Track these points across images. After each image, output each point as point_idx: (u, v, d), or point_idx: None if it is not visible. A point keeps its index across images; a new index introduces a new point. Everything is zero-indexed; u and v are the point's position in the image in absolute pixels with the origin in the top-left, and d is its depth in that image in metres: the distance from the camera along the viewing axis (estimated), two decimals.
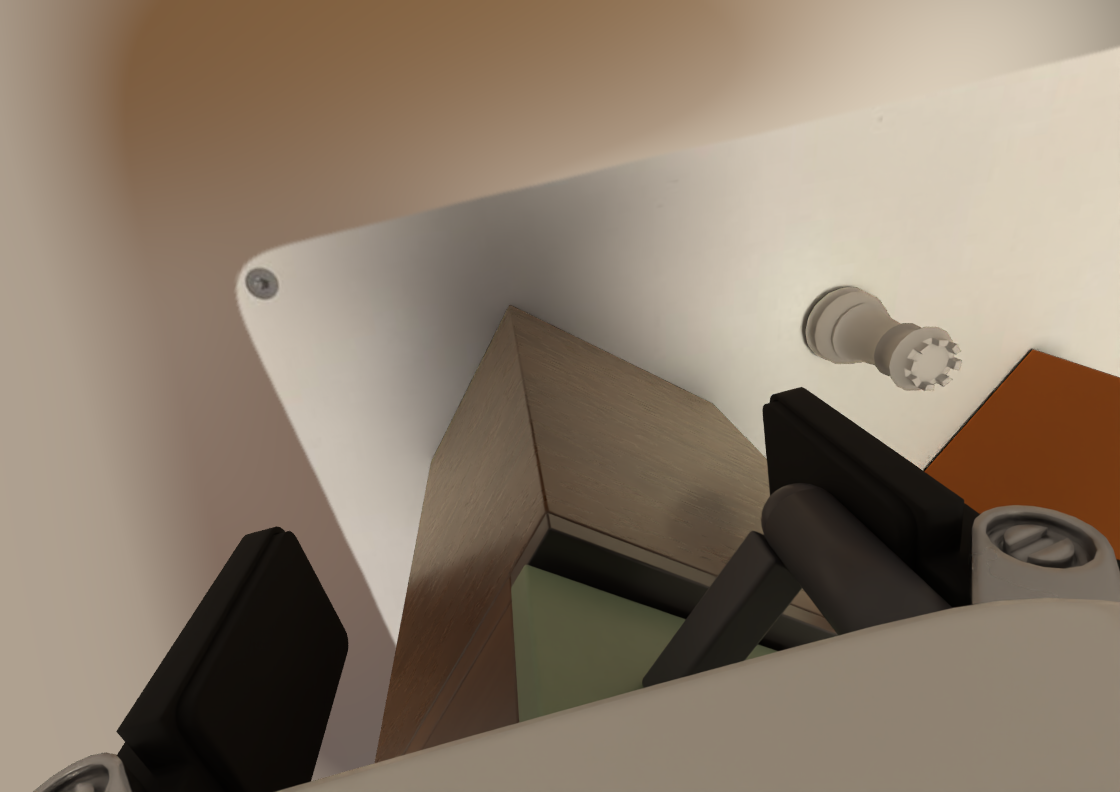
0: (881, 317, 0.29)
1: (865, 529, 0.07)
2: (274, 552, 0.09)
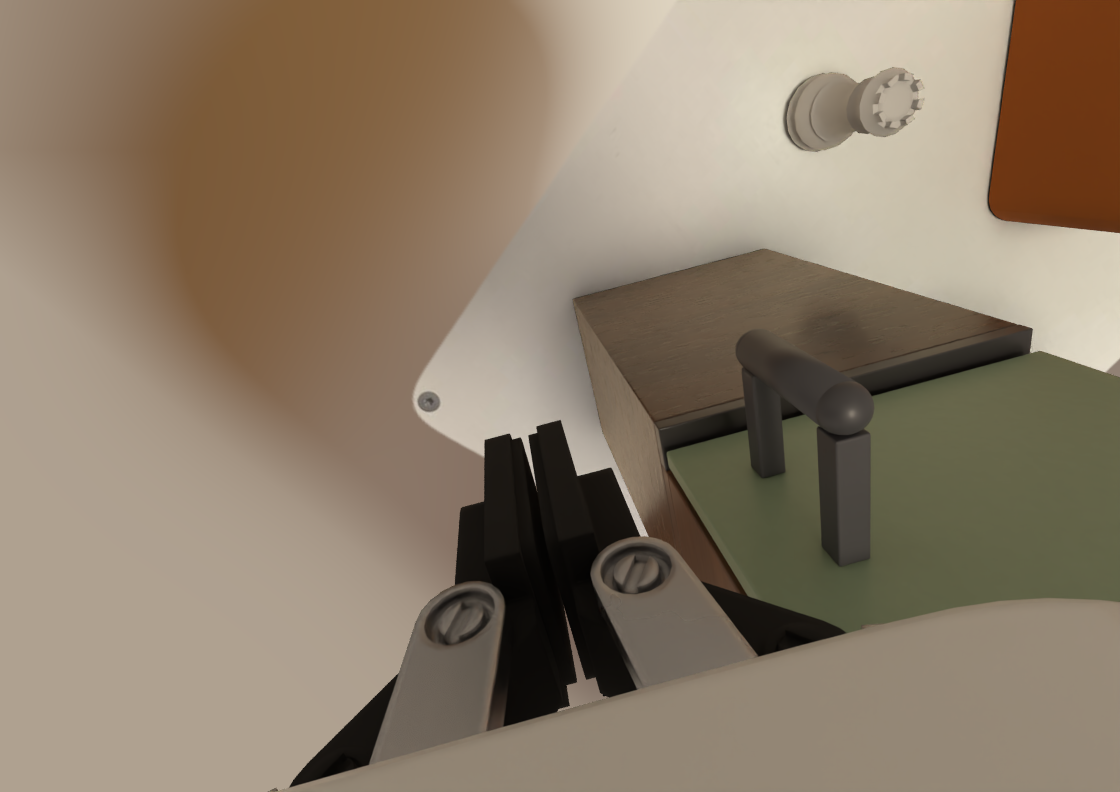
0: (840, 91, 0.32)
1: (771, 340, 0.14)
2: (519, 451, 0.11)
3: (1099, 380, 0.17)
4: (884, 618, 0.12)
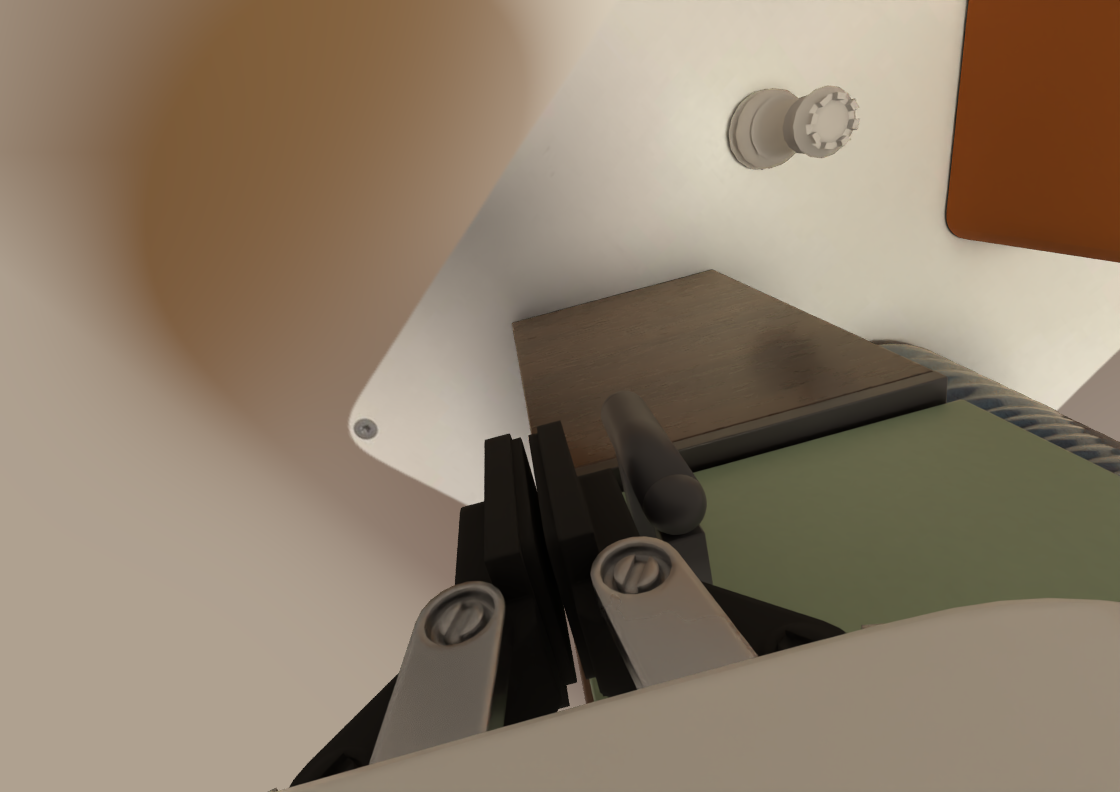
0: (778, 109, 0.30)
1: (627, 409, 0.13)
2: (519, 451, 0.11)
3: (1015, 438, 0.16)
4: None
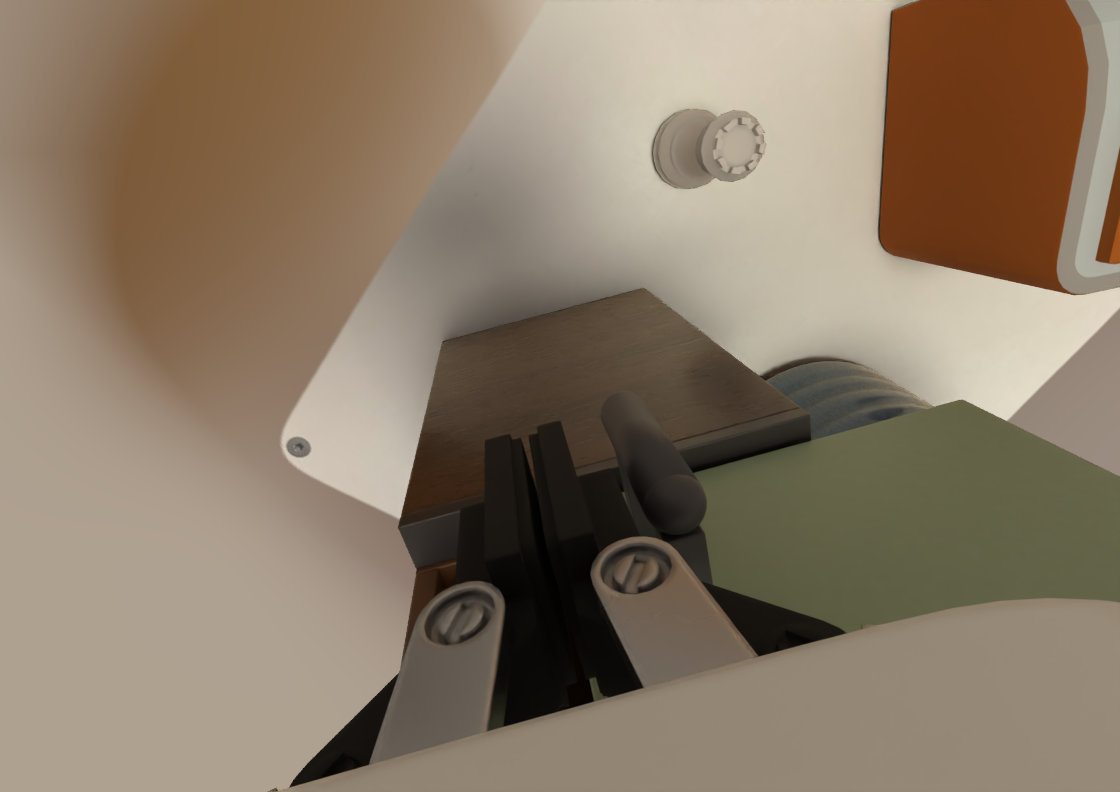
0: (694, 131, 0.30)
1: (627, 409, 0.13)
2: (519, 451, 0.11)
3: (1015, 439, 0.16)
4: None
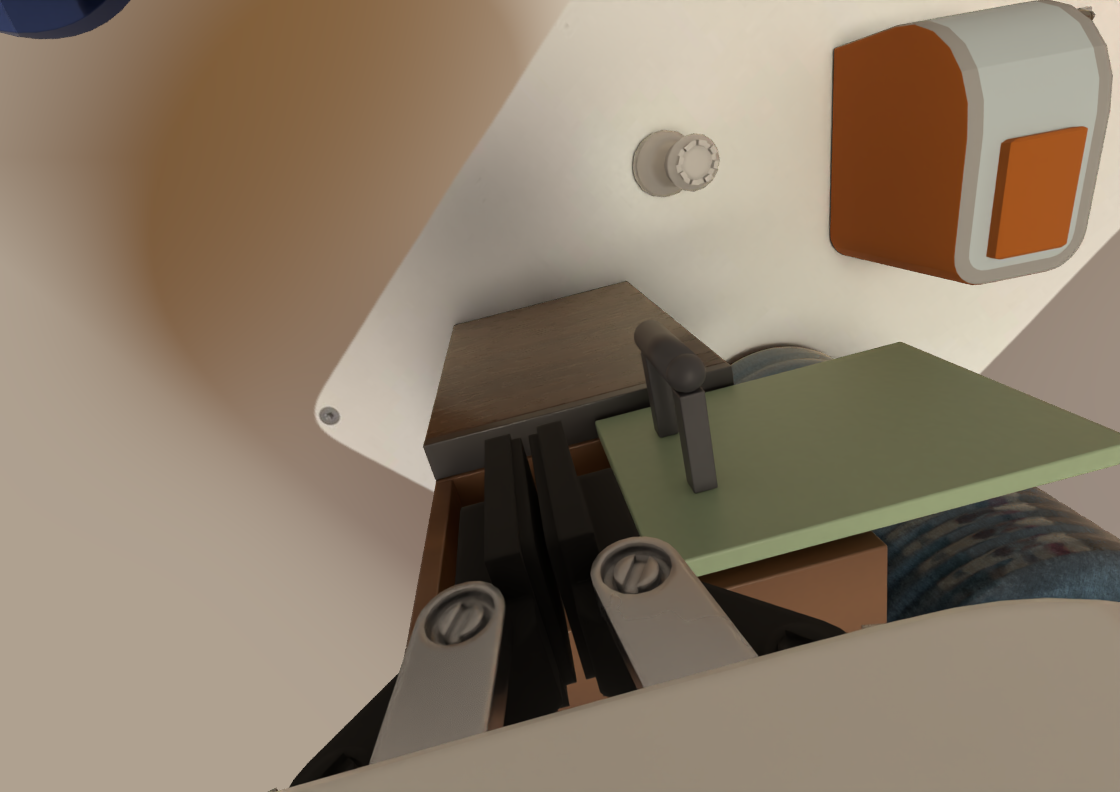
0: (664, 149, 0.36)
1: (653, 327, 0.19)
2: (519, 451, 0.11)
3: (931, 363, 0.22)
4: (713, 523, 0.16)
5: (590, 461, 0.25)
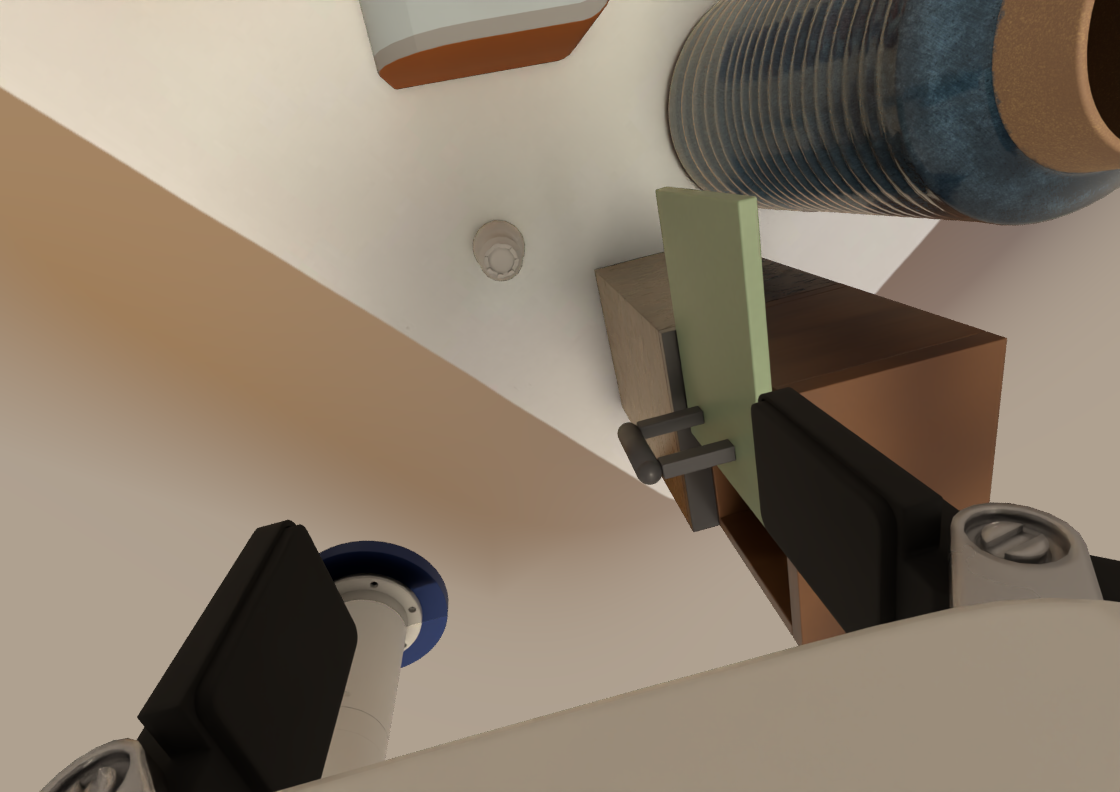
0: None
1: (622, 445, 0.29)
2: (286, 545, 0.10)
3: (673, 205, 0.25)
4: (751, 478, 0.24)
5: None
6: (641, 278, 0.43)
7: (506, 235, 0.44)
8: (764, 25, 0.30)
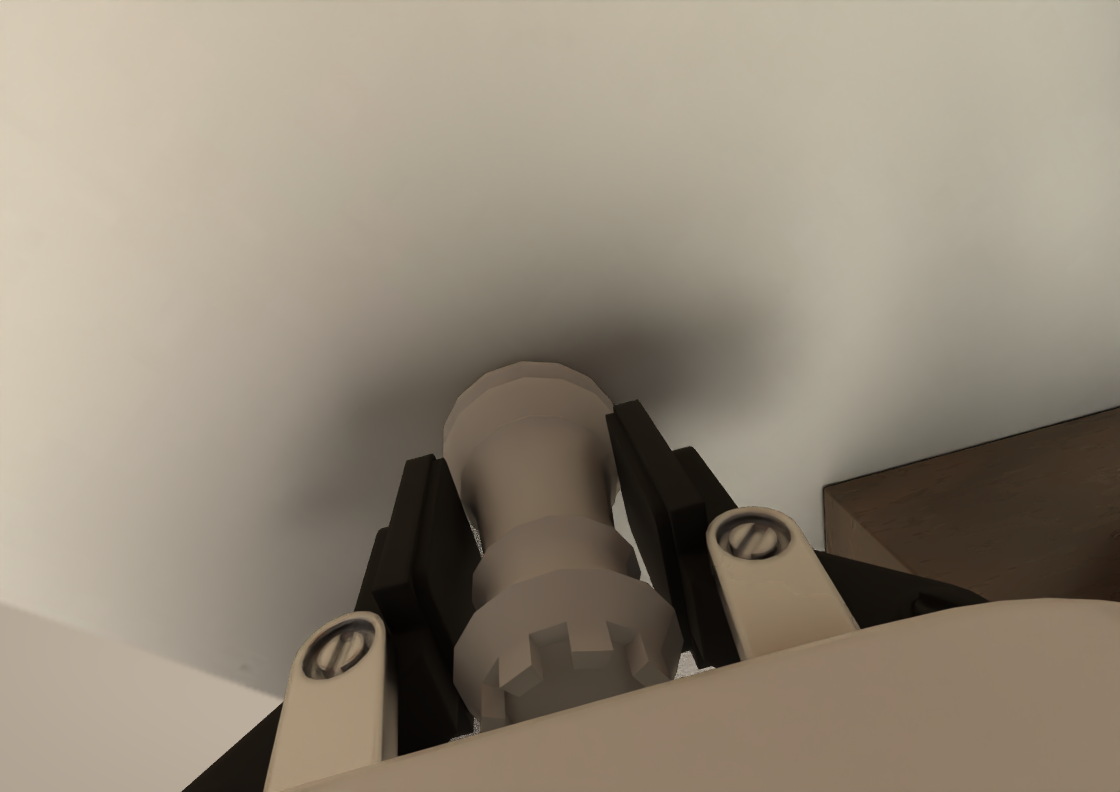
0: None
1: None
2: (438, 473, 0.11)
3: None
4: None
5: None
6: None
7: (571, 448, 0.11)
8: None
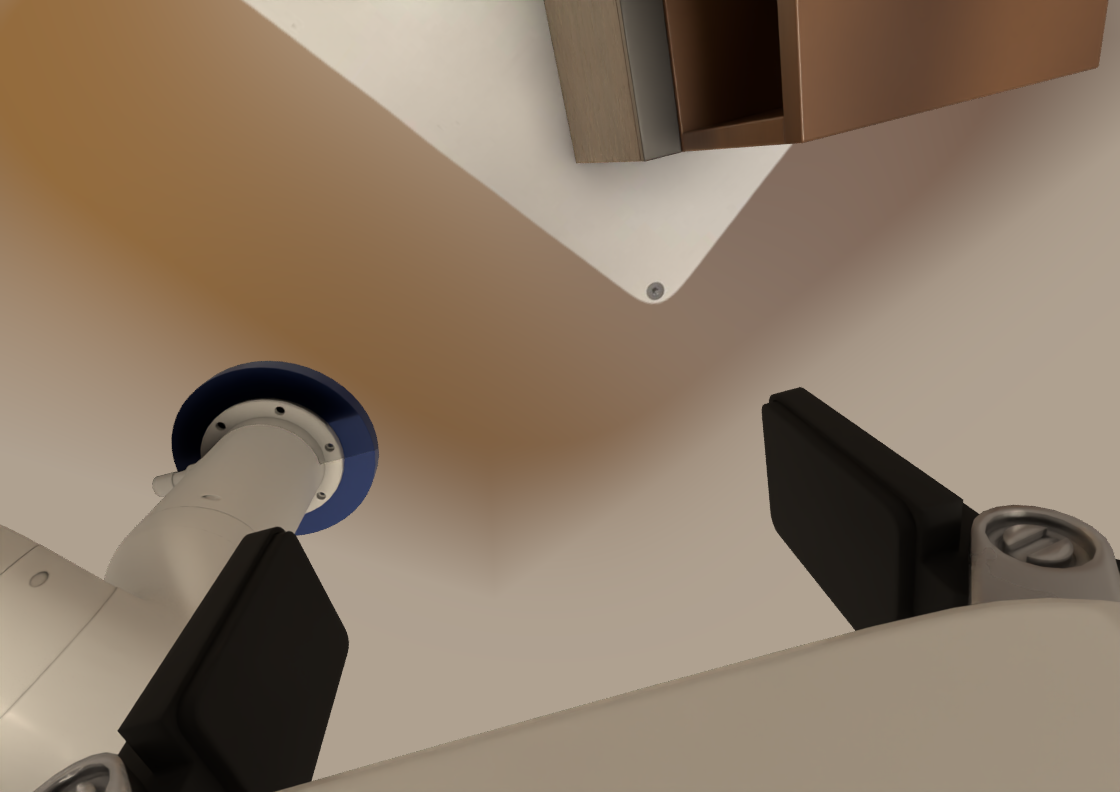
0: None
1: None
2: (274, 552, 0.09)
3: None
4: None
5: None
6: None
7: None
8: None
